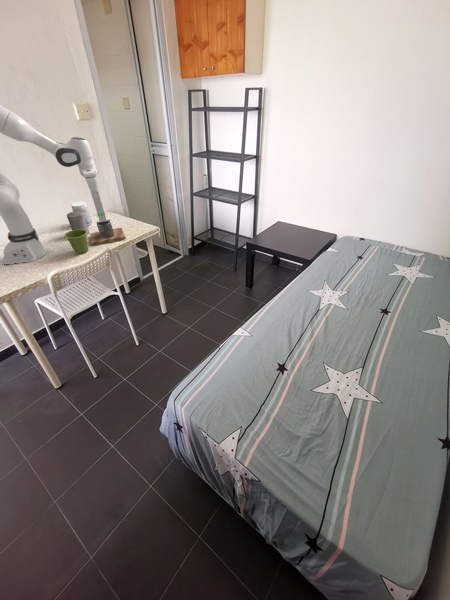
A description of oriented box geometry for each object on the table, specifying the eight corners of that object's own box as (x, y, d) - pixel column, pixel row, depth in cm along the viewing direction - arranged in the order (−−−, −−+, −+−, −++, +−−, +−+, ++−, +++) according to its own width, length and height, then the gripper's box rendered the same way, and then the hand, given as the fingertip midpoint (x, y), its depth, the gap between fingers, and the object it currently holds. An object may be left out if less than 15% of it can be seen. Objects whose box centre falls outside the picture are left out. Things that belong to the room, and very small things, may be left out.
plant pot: (69, 257, 160) (61, 238, 154) (73, 248, 170) (67, 230, 163) (91, 254, 162) (84, 236, 155) (94, 246, 171) (88, 228, 165)
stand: (92, 246, 171) (86, 229, 165) (90, 236, 183) (85, 220, 177) (126, 239, 178) (121, 223, 172) (122, 230, 190) (118, 215, 183)
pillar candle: (73, 233, 188) (64, 211, 179) (88, 229, 192) (81, 208, 183) (74, 238, 182) (66, 215, 172) (90, 234, 185) (83, 212, 176)
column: (99, 222, 171) (88, 187, 159) (98, 220, 175) (88, 185, 162) (107, 221, 173) (97, 185, 160) (106, 218, 176) (96, 184, 164)
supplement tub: (75, 225, 200) (68, 204, 191) (87, 221, 206) (81, 200, 197) (82, 228, 195) (75, 207, 186) (95, 224, 201) (88, 203, 192)
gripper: (81, 167, 163) (88, 192, 172) (83, 175, 148) (91, 201, 157) (92, 166, 165) (99, 191, 174) (95, 173, 150) (103, 200, 159)
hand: (95, 196), depth 165 cm, fingers closed on column, 4 cm apart
